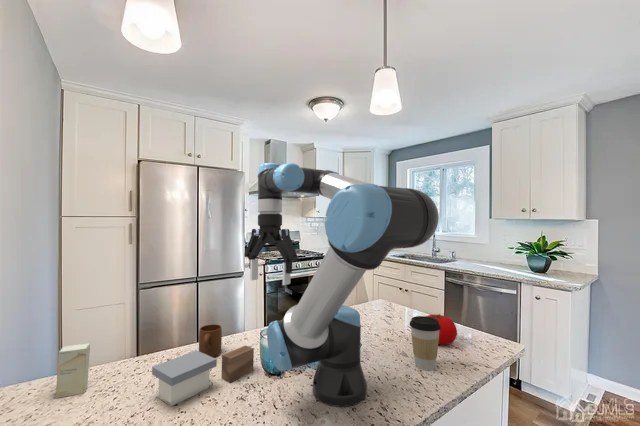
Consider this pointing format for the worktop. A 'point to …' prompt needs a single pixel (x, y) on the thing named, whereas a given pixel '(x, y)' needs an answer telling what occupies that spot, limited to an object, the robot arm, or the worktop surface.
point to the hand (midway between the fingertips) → (269, 282)
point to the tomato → (445, 329)
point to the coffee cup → (425, 341)
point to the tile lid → (183, 367)
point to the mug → (210, 340)
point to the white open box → (183, 388)
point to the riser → (237, 363)
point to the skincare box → (72, 370)
